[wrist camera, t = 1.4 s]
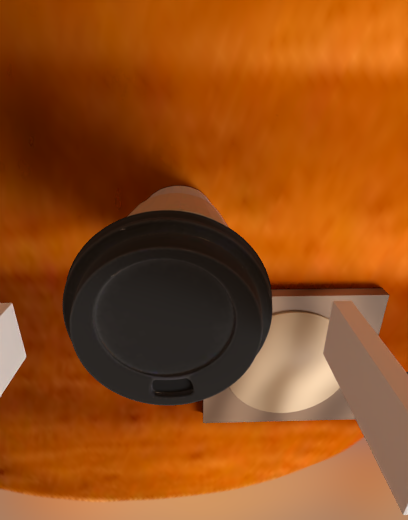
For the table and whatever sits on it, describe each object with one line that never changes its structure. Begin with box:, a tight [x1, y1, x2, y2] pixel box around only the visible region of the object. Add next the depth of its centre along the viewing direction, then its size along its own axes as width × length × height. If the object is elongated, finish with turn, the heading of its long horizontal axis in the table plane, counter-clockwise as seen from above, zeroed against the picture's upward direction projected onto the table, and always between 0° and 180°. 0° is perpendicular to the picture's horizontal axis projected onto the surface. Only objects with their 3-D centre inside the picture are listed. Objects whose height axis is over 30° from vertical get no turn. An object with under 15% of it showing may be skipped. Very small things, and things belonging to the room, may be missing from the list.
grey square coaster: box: [203, 288, 389, 423], centre depth 33 cm, size 16×15×2 cm
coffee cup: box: [63, 186, 273, 405], centre depth 21 cm, size 9×9×15 cm
